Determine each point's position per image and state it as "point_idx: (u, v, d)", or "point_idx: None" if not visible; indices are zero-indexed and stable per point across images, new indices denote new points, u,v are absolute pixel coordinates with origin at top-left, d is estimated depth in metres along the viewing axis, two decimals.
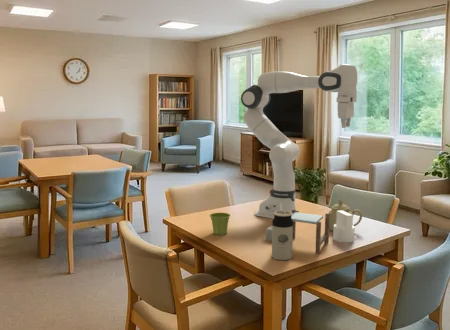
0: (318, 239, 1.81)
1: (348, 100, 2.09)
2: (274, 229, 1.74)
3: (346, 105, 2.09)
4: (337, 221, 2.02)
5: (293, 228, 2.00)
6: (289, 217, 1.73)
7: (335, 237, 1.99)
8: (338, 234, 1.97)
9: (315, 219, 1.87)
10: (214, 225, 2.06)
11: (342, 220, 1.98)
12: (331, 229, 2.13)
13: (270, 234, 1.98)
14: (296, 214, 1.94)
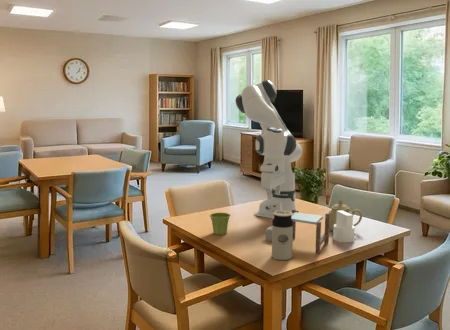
0: (318, 239, 1.81)
1: (272, 170, 1.87)
2: (274, 229, 1.74)
3: (270, 175, 1.87)
4: (337, 221, 2.02)
5: (293, 228, 2.00)
6: (289, 217, 1.73)
7: (335, 237, 1.99)
8: (338, 234, 1.97)
9: (315, 219, 1.87)
10: (214, 225, 2.06)
11: (342, 220, 1.98)
12: (331, 229, 2.13)
13: (270, 234, 1.98)
14: (296, 214, 1.94)
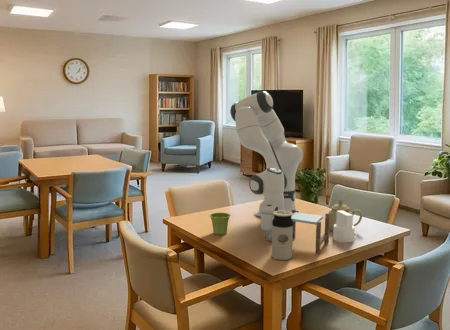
0: (318, 239, 1.81)
1: (272, 212, 1.90)
2: (274, 229, 1.74)
3: (270, 217, 1.90)
4: (337, 221, 2.02)
5: (293, 228, 2.00)
6: (289, 217, 1.73)
7: (335, 237, 1.99)
8: (338, 234, 1.97)
9: (315, 219, 1.87)
10: (214, 225, 2.06)
11: (342, 220, 1.98)
12: (331, 229, 2.13)
13: None
14: (296, 214, 1.94)
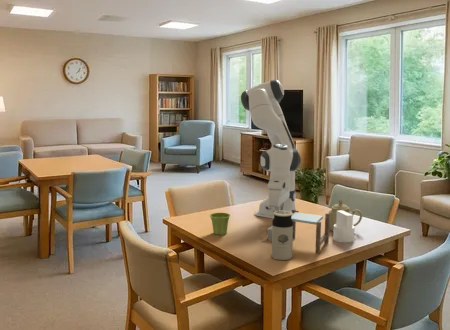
0: (318, 239, 1.81)
1: (280, 187, 1.87)
2: (274, 229, 1.74)
3: (278, 193, 1.87)
4: (337, 221, 2.02)
5: (293, 228, 2.00)
6: (289, 217, 1.73)
7: (335, 237, 1.99)
8: (338, 234, 1.97)
9: (315, 219, 1.87)
10: (214, 225, 2.06)
11: (342, 220, 1.98)
12: (331, 229, 2.13)
13: (271, 234, 1.98)
14: (296, 214, 1.94)
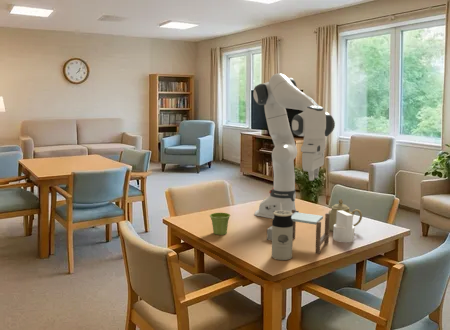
0: (318, 239, 1.81)
1: (314, 150, 1.76)
2: (274, 229, 1.74)
3: (312, 156, 1.76)
4: (337, 221, 2.02)
5: (293, 228, 2.00)
6: (289, 217, 1.73)
7: (335, 237, 1.99)
8: (338, 234, 1.97)
9: (315, 219, 1.87)
10: (214, 225, 2.06)
11: (342, 220, 1.98)
12: (331, 229, 2.13)
13: (271, 234, 1.98)
14: (296, 214, 1.94)
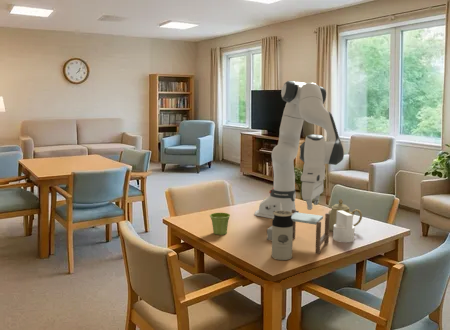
0: (318, 239, 1.81)
1: (314, 180, 1.78)
2: (274, 229, 1.74)
3: (311, 186, 1.78)
4: (337, 221, 2.02)
5: (293, 228, 2.00)
6: (289, 217, 1.73)
7: (335, 237, 1.99)
8: (338, 234, 1.97)
9: (315, 219, 1.87)
10: (214, 225, 2.06)
11: (342, 220, 1.98)
12: (331, 229, 2.13)
13: (271, 234, 1.98)
14: (296, 214, 1.94)
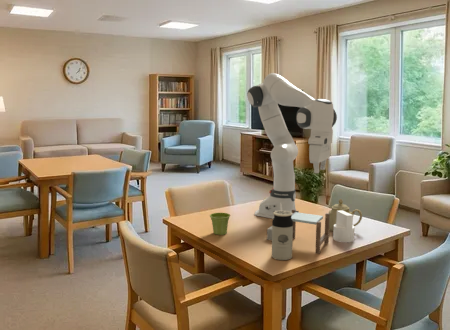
0: (318, 239, 1.81)
1: (321, 142, 1.79)
2: (274, 229, 1.74)
3: (319, 148, 1.79)
4: (337, 221, 2.02)
5: (293, 228, 2.00)
6: (289, 217, 1.73)
7: (335, 237, 1.99)
8: (338, 234, 1.97)
9: (315, 219, 1.87)
10: (214, 225, 2.06)
11: (342, 220, 1.98)
12: (331, 229, 2.13)
13: (271, 234, 1.98)
14: (296, 214, 1.94)
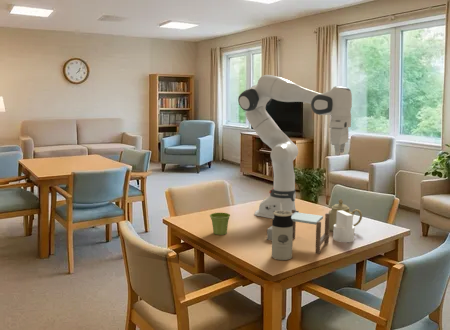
0: (318, 239, 1.81)
1: (342, 126, 1.94)
2: (274, 229, 1.74)
3: (340, 131, 1.94)
4: (337, 221, 2.02)
5: (293, 228, 2.00)
6: (289, 217, 1.73)
7: (335, 237, 1.99)
8: (338, 234, 1.97)
9: (315, 219, 1.87)
10: (214, 225, 2.06)
11: (342, 220, 1.98)
12: (331, 229, 2.13)
13: (271, 234, 1.98)
14: (296, 214, 1.94)
